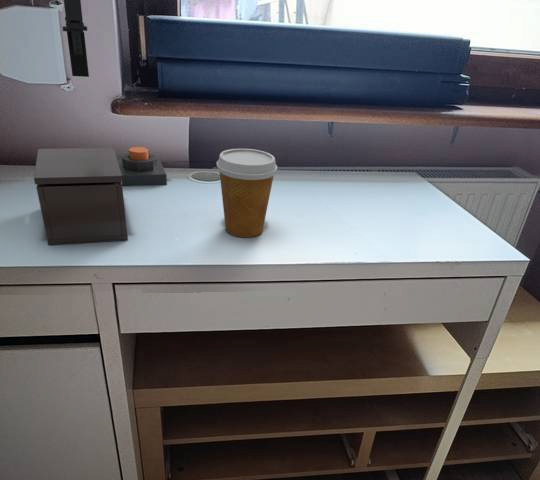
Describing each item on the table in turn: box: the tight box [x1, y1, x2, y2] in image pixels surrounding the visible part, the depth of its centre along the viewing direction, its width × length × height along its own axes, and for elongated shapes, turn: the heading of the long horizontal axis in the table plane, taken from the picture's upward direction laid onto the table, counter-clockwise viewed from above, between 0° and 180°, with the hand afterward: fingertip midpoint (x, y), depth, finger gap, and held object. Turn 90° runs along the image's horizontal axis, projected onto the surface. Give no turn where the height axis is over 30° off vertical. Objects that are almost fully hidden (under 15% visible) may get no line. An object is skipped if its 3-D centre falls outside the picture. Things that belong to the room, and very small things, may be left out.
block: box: [117, 152, 168, 187], centre depth 100 cm, size 10×9×4 cm
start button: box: [128, 146, 149, 160], centre depth 99 cm, size 4×4×2 cm
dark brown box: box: [35, 182, 129, 246], centre depth 80 cm, size 15×12×9 cm
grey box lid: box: [33, 147, 122, 185], centre depth 76 cm, size 15×12×1 cm
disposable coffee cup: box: [216, 148, 278, 238], centre depth 81 cm, size 10×10×12 cm
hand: (80, 75), depth 88 cm, fingers closed
